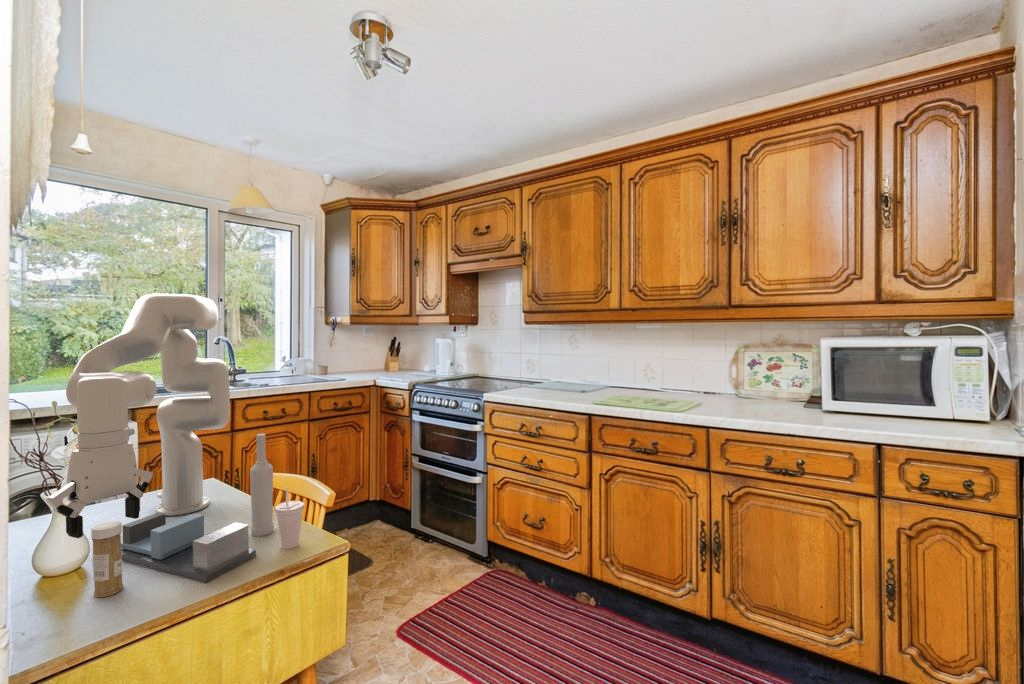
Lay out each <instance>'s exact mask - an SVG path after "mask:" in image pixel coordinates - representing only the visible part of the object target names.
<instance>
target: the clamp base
mask: <svg viewBox="0 0 1024 684" xmlns="http://www.w3.org/2000/svg"><path fill="white" fill-rule="evenodd" d="M249 536H250V535H249V524H245V523H241V522H233V523H230V524H228V525H226V526H223V527H221V528H219V529H217V530H215V531H212V532H211V533H208V534H204V536H203V537H201V538H199V539H196V540H194V541H193V545H192V546H190V547H188V548H186V549H183V550H181V551H179V552H177V553H175V554H172V555H170V556H168V557H166V558H163V559H161V560H160V559H156V558H152V557H151V555H147V554H143V553H139V552H135V551H131V550H127V549H123V548H121V551H122V562H127V563H131V564H133V565H136V566H137V565H138V566H141V567H145V568H147V569H148V568H149V569H153V570H156V571H159V572H163V573H167V574H170V575H175V576H178V577H182V578H186V579H190V580H193V581H197V582H200V583H205V584H207V583H209V582H212V581H213V580H215V579H217V578H219V577H221V576H222V575H224V574H226V573H228V572H230V571H231V570H234V569H235V568H237V567H240V566H241V565H242V564H243V565H244V564H245V563H246V562H248V561H250V560H253V558H256V557H257V550H256V549H253V548H250V547H249V546H250V543H249V541H250V540H249V539H250V537H249Z"/></svg>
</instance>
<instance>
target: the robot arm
mask: <svg viewBox="0 0 1024 684" xmlns="http://www.w3.org/2000/svg"><path fill="white" fill-rule="evenodd" d="M218 320H219V310H218V307H217V305H216V303H215V302H214V301H213V300H212V299H211V298H207V297H203V296H200V295H195V294H186V293H185V294H184V293H150V294H149V293H148V294H145V295H142V296H140V297H139V298H138V300H136V302H135V303H134V306H133V308H132V309H131V311H130V314H129V315H128V318H127V320H126V321H125V324H124V326H123V327H122V330H121V332H120V334H119V333H118V335H115V336H113V337H111V338H110V339H107V340H105V341H104V342H101V343H100V344H98V345H96V346H95V347H94V348H91V349H90V350H89V351H87V352H86V353H84V354H83V355H82V356H81V358H80V359H79V361H78V362H77V364H76V365H75V367H74V368H73V371H72V373H71V375H70V377H69V379H68V381H67V385H66V389H65V394H66V399H67V401H68V402H69V404H70V405H71V406H73V407H75V408H76V415H77V416H76V417H77V419H76V420H77V421H76V424H77V426H76V427H77V449H72V451H71V454H70V458H69V462H68V468H67V474H66V482H65V483H66V484H65V486H63V487H62V488H60V489H59V490H57V491H55V493H53V494H51V495H50V496H48V498H47V499H46V501H47V503H48V504H49V505H50V506H51V508H53V511H54V512H56V513H58V514H60V515H62V516H63V517H65V532H66V534H67V536H68V537H70V538H74V539H75V538H76V539H80V538H82V537H83V536H84V525H83V524H84V520H83V518H84V517H83V516H82V515H80V514H81V512H82V511H83V510H84V508H86V506H87V505H88V504H93V503H95V502H99V501H100V502H101V501H102V500H105V499H106V500H107V499H110V498H113V497H114V498H115V497H117V496H119V495H124V494H126V495H127V496H125V499H124V503H125V504H124V509H125V511H124V512H125V513H124V516H125V517H126V518H128V519H129V518H130V519H133V520H135V519H136V520H137V519H140V512H141V498H142V497H143V496H144V492H145V491H146V490H147V489H148V488H149V486H150V484H149V483H150V482H151V480H152V478H153V476H154V472H152V471H150V470H149V471H148V470H145V469H144V470H143V469H140V468H138V464H137V458H136V453H135V449H134V445H133V443H132V441H129V440H130V436H133V435H135V434H136V431H135V429H134V427H133V428H130V427H129V408H139V407H143V406H145V405H147V404H148V403H150V402H151V401H152V400H153V399H154V397H155V395H156V394H157V383H156V381H155V379H154V377H153V376H152V375H150V374H149V373H147V372H143V371H133V370H131V371H117V370H116V371H113V370H115V369H118V368H120V367H124V366H127V365H129V364H133V363H138V362H140V361H143V360H146V359H149V358H152V357H155V356H157V355H158V354H160V356H161V357H160V359H161V361H160V362H161V377H162V378H161V379H162V385H163V388H164V390H166V391H167V392H169V393H177V394H179V393H181V394H185V393H208V395H209V396H208V395H207V396H181V397H180V396H178V397H172V398H168V399H165V400H163V401H162V402H160V403H159V404H158V406H157V408H156V411H155V412H156V422H157V425H158V429H159V434H160V443H161V444H160V445H161V472H162V473H161V476H162V478H161V479H162V480H161V481H162V492H158V494H156V495H157V496H156V497H157V498H158V499H161V503H159V505H157V506H156V508H155V511H156V513H158V512H159V513H164V514H166V516H167V517H168V516H170V517H171V516H173V517H174V516H180V515H181V516H182V515H187V514H191V513H195V512H198V511H200V510H203V509H204V508H206V507H208V506H209V504H210V500H211V499H210V497H208V496H204V467H203V466H204V465H203V464H204V463H203V462H204V461H203V444H202V441H201V440H200V438H199V437H198V435H197V434H196V433H194V431H204V430H205V431H207V430H209V431H210V430H219V429H223V428H225V427H226V426H227V425H229V421H230V418H231V402H230V401H231V398H230V393H231V392H230V374H229V368H228V366H227V364H226V362H225V361H224V360H222V359H219V358H199V352H198V350H199V349H198V341H197V339H196V337H195V336H194V334H193V333H192V332H191V331H192V330H193V331H194V330H195V331H197V330H198V331H199V330H203V331H204V330H206V331H207V330H211V329H213V328H215V326H216V325H217V323H218ZM190 330H191V331H190ZM139 477H140V481H139V482H138V480H139V479H138V478H139ZM65 498H66V500H67V501H68V502H69V503H68V504H67V505H66V504H64V502H63V500H64V499H65ZM156 513H155V514H156Z"/></svg>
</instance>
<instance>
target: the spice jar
mask: <svg viewBox="0 0 1024 684" xmlns="http://www.w3.org/2000/svg"><path fill="white" fill-rule="evenodd" d="M122 525H123V523H122V522H121V521H120V520H112V521H110V520H109V521H105V522H102V523H98V524H95V525H94V526H92V528H91V531H90V533H91V534H90V535H91V539H92V569H93V570H92V571H93V574H92V576H93V585H94V591H93V596H94V597H95V598H104V597H105V598H106V597H109V596H113V595H115V594H118V592H121V591H122V589H123V588H124V583H123V561H122V551H121V543H122V540H121V539H122V538H121V535H122V532H123V527H122Z"/></svg>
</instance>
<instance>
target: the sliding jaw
mask: <svg viewBox="0 0 1024 684" xmlns="http://www.w3.org/2000/svg"><path fill="white" fill-rule="evenodd" d="M166 519H167V517H166V514H164V513H159V512H158V513H154V514H151V515H150V514H149V515H148V516H144V517H142V518H138V519H136V520H133V521H130V522H128V523H125V524H122V542H121V548H123V549H127V550H131V551H135V552H139V553H143V554H147V555H151V557H152V558H156V559H160V560H161V559H163V558H166V557H168V556H170V555H172V554H175V553H177V552H179V551H181V550H183V549H186V548H188V547H190V546H192V545H193V541H194V540H196V539H199V538H201V537H203V536H205V515H204V514H201V513H200V514H199V513H195V512H193V513H192V514H189V515H187V516H184V517H182V518H179V519H177V520H173V521H171V522H169V523H166V522H167V520H166Z"/></svg>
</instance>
